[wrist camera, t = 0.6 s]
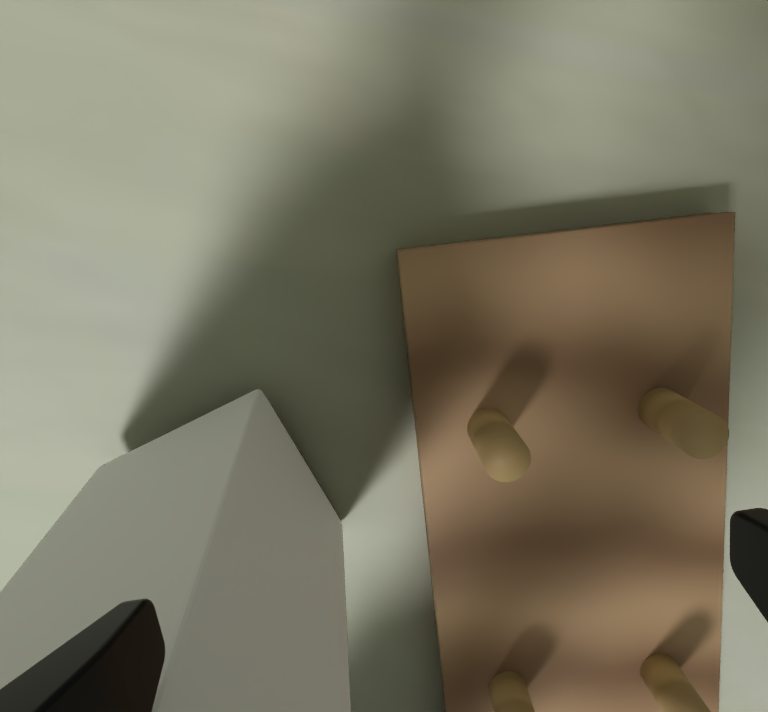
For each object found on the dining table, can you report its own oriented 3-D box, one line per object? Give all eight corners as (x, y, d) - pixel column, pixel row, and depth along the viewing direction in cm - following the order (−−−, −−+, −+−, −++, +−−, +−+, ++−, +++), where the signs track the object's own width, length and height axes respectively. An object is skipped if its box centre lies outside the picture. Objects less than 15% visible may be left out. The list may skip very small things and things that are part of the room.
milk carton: (260, 384, 22) (-70, 1417, 4) (343, 522, 24) (398, 1590, 6) (99, 463, 22) (-945, 1780, 4) (196, 592, 24) (-183, 1809, 6)
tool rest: (697, 758, 27) (760, 860, 23) (453, 787, 27) (469, 894, 23) (709, 212, 21) (799, 210, 17) (396, 249, 21) (403, 256, 17)
